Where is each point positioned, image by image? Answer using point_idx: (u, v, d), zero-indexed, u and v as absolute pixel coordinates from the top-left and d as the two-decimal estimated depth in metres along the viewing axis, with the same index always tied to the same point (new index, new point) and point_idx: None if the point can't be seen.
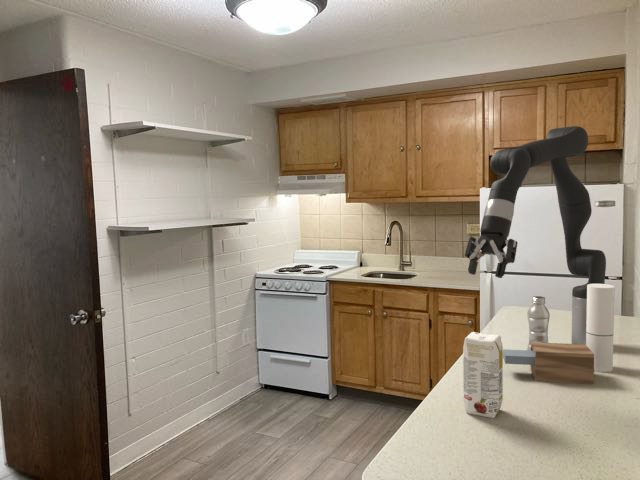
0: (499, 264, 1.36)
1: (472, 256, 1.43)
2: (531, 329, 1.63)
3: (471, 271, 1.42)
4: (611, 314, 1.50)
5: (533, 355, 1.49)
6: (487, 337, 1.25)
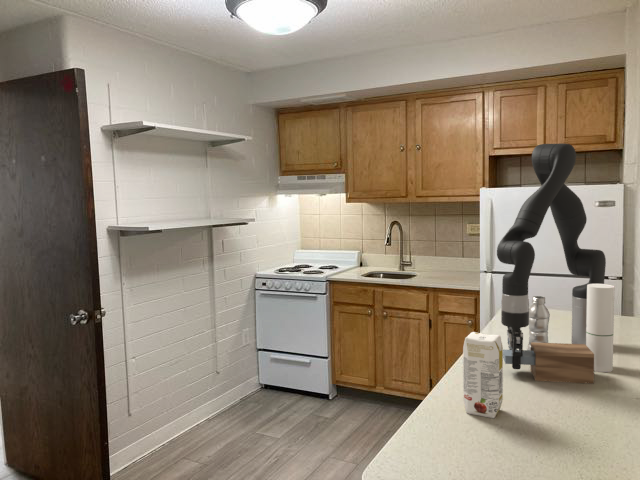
0: (512, 357, 1.49)
1: (508, 346, 1.55)
2: (531, 329, 1.63)
3: None
4: (610, 314, 1.50)
5: (533, 355, 1.49)
6: (487, 337, 1.25)
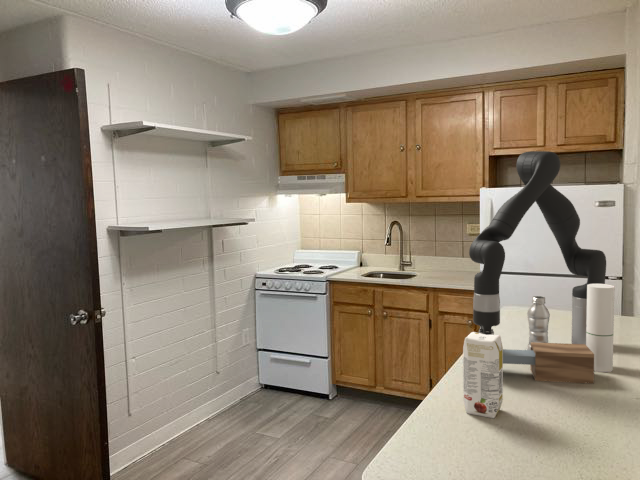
0: None
1: None
2: (531, 329, 1.63)
3: None
4: (611, 314, 1.50)
5: (504, 354, 1.50)
6: (487, 337, 1.25)
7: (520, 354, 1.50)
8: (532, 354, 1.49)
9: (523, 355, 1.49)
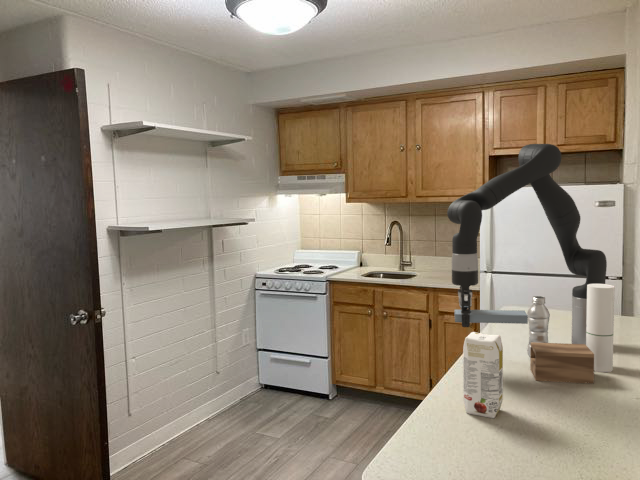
0: (462, 315, 1.51)
1: None
2: (531, 329, 1.63)
3: None
4: (610, 314, 1.50)
5: (482, 313, 1.51)
6: (487, 337, 1.25)
7: (498, 313, 1.50)
8: (510, 313, 1.50)
9: (500, 314, 1.49)
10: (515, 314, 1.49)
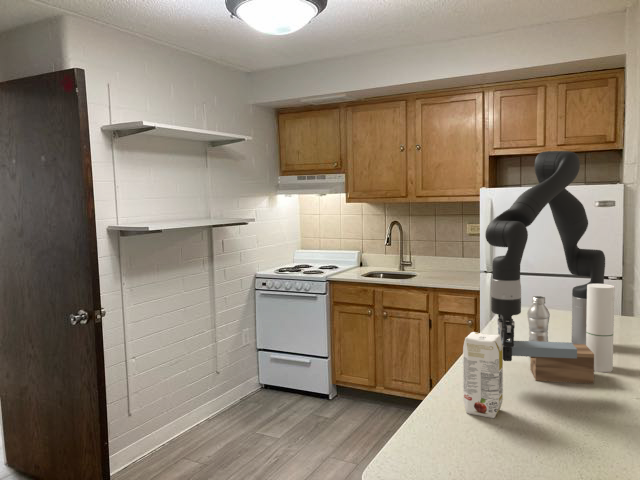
0: (503, 348, 1.36)
1: None
2: (531, 329, 1.63)
3: None
4: (610, 314, 1.50)
5: (525, 346, 1.37)
6: (487, 337, 1.25)
7: (543, 346, 1.36)
8: (556, 346, 1.36)
9: (546, 347, 1.35)
10: (563, 347, 1.34)
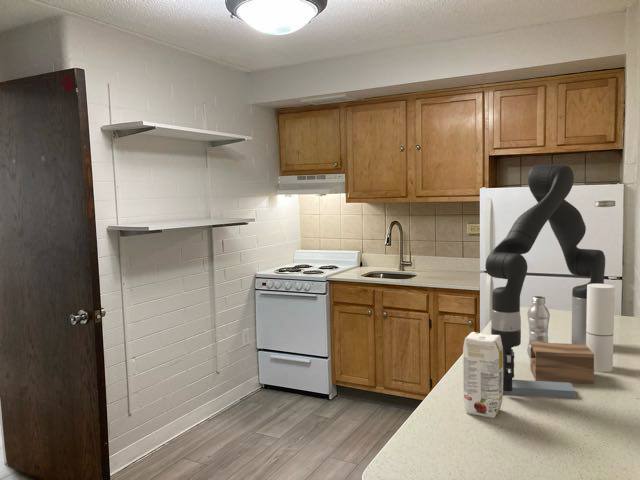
0: (503, 378, 1.36)
1: None
2: (531, 329, 1.63)
3: None
4: (611, 314, 1.50)
5: (525, 386, 1.38)
6: (487, 337, 1.25)
7: (542, 386, 1.37)
8: (555, 387, 1.37)
9: (545, 388, 1.36)
10: (561, 389, 1.35)
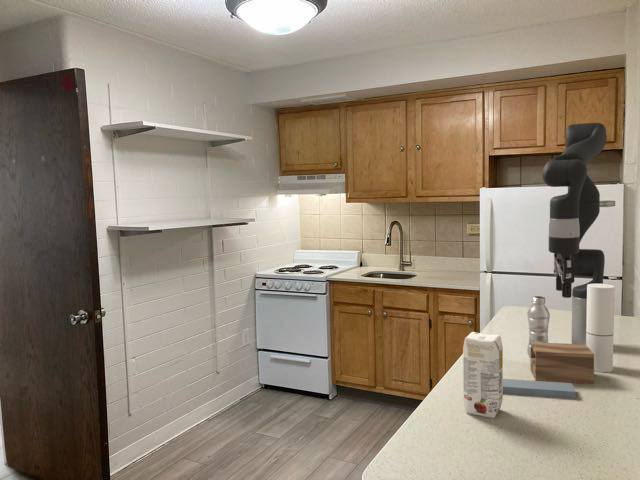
0: (562, 285, 1.37)
1: (555, 273, 1.45)
2: (531, 329, 1.63)
3: (557, 288, 1.45)
4: (611, 314, 1.50)
5: (524, 386, 1.38)
6: (487, 337, 1.25)
7: (542, 387, 1.37)
8: (555, 387, 1.36)
9: (545, 389, 1.36)
10: (561, 389, 1.35)
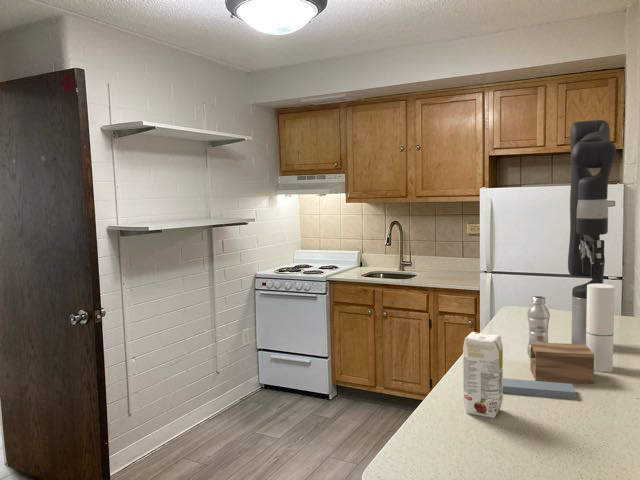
0: (591, 266, 1.37)
1: (582, 256, 1.45)
2: (531, 329, 1.63)
3: (584, 271, 1.45)
4: (610, 314, 1.50)
5: (524, 386, 1.38)
6: (487, 337, 1.25)
7: (542, 387, 1.37)
8: (555, 387, 1.36)
9: (544, 389, 1.36)
10: (561, 389, 1.35)
